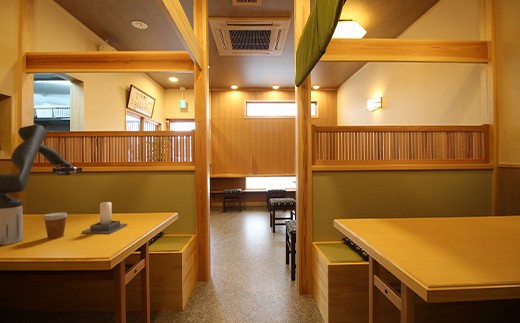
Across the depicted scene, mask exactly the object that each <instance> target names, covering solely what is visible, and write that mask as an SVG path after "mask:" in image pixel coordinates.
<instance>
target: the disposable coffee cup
mask: <svg viewBox="0 0 520 323" xmlns="http://www.w3.org/2000/svg"><path fill="white" fill-rule="evenodd" d="M67 217H68V213H67V212H63V211H61V212H60V211H59V212H51V213H47V214H46V213H45V214H44V217H43V220H44V224H45V225H44V226H45V230H46V235H47V239H48V240H54V239H60V238H62V237H65V236H64V235H65V230H66V222H67Z"/></svg>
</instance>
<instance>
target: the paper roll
mask: <svg viewBox="0 0 520 323" xmlns="http://www.w3.org/2000/svg"><path fill="white" fill-rule="evenodd" d="M112 205H113V204H112V201H111V202H110V201H106V202H105V201H103V202H100V204H99V222H100V225H109V224H111V223H112V221H113V220H112V216H113V215H112V212H113V211H112Z"/></svg>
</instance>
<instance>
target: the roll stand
mask: <svg viewBox="0 0 520 323" xmlns="http://www.w3.org/2000/svg"><path fill="white" fill-rule="evenodd" d="M127 226H128V223H121V220H112V223H111V224H109V225H100V221H97V222H96V223H94V224H93V223H92V224H90V227H89V228H87V229H84V230H82V231H81V234H82V233H97V235H98V234H100V235H103V234H104V235H107V234H109V235H111V234H113V233H115V232H117V231H120V230H122V229H124V228H125V227H127Z"/></svg>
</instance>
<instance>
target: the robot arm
mask: <svg viewBox="0 0 520 323" xmlns="http://www.w3.org/2000/svg"><path fill="white" fill-rule="evenodd" d="M17 133H18V135H19V137H20V138H21V139H22V140H23V142H21V143H19V145H17V146H16V147H15V148H14V150H13V152H12V153H11V157H10V160H11V162H12V164H13V165H14V166H15V167H16V169H17V170H18V173H6V174H3V173H2V174H0V246H7V245H12V244H15V243H19V242H21V241H23V240H24V238H23V236H24V234H23V232H24V231H23V229H24V228H23V225H24V224H23V222H24V221H23V218H24V217H23V213H24V212H23V208H24V207H23V200H22V199H19V198H15V197H11V196H9V194H13V193H15V194H18V193H22V192H24V190H25V189H26V187H27V184H28V181H29V177H30V174H31V173H30V172H31V170H32V167H33V165H34V163H35V161H36V158H37V155H38V153H39V154H41V155H42V156H43V157H44V158H45V160H46V161H47V162H48V163H49V164H51V165H52V166H55V167H52V171H51V172H52V173H54V174H55V175H57V176H61V177H63V176H70V175H72V174H74V173H78V172H80V173H82V172H83V167H80V166H79V167H76V166H73V164H72V163H70V162H69V161H67V160H65V159H64V158H63V157H62V156H61V155H60V154H59V153H58V151H56V150H55V149H53V148H51V147H49V146H48V145H45V144H43V142H44V141H45V139H46V136H47V130H46V128H45V127H44V126H43V125H41V124H32V125H31V124H30V125H26V126H22V127H20V128H19V129H18V130H17Z"/></svg>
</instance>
